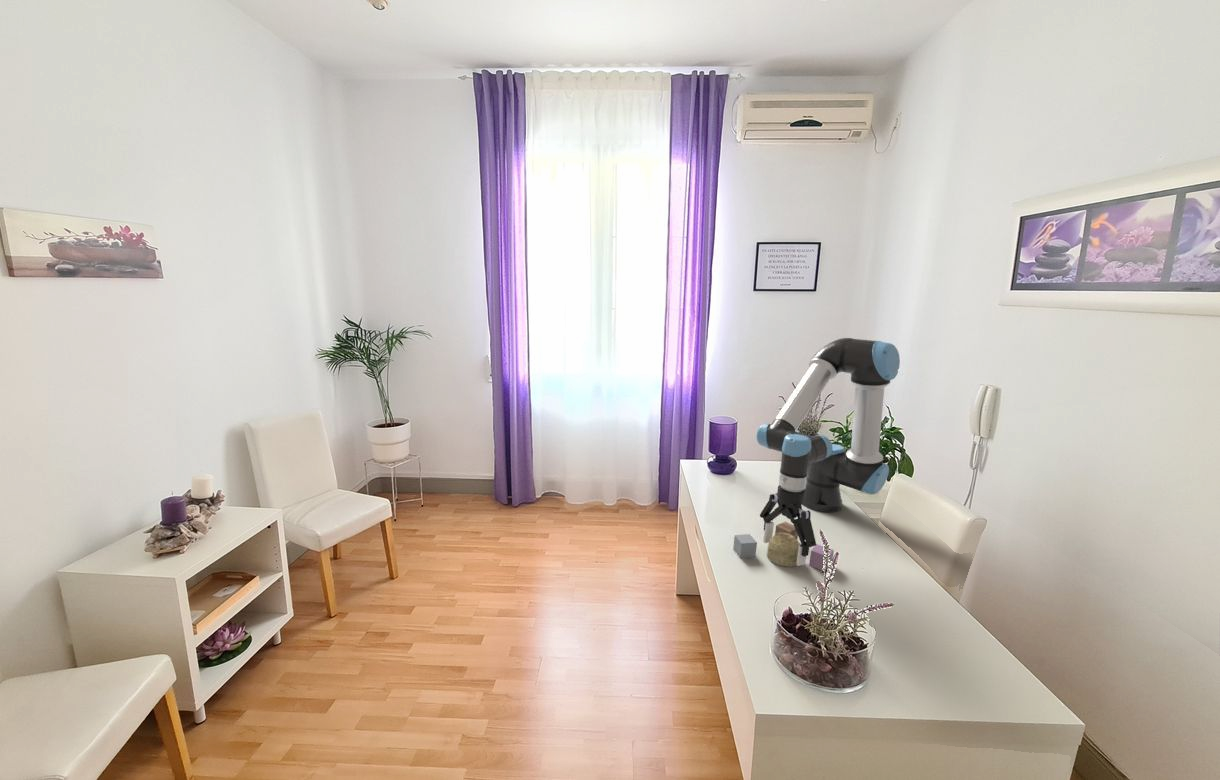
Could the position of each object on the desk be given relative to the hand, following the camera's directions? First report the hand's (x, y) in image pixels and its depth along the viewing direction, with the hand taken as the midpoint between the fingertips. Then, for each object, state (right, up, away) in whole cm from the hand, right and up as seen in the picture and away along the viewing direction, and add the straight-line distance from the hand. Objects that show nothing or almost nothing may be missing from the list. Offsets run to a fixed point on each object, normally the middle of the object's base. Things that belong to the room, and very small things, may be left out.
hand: (783, 552), depth 149 cm
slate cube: (-11, -1, +3) cm, 12 cm away
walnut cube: (+5, 0, +11) cm, 12 cm away
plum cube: (+10, -3, -2) cm, 11 cm away
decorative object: (0, -2, +1) cm, 2 cm away
